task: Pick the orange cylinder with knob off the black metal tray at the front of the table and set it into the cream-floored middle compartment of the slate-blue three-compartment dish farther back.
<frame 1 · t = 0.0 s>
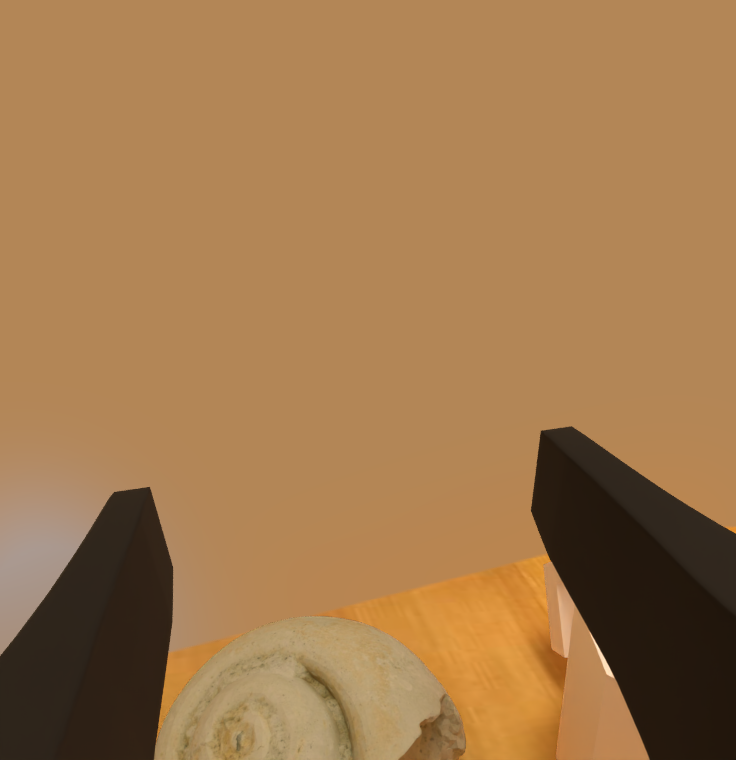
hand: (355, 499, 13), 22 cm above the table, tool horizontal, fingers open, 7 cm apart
mug: (626, 753, 30), on the table
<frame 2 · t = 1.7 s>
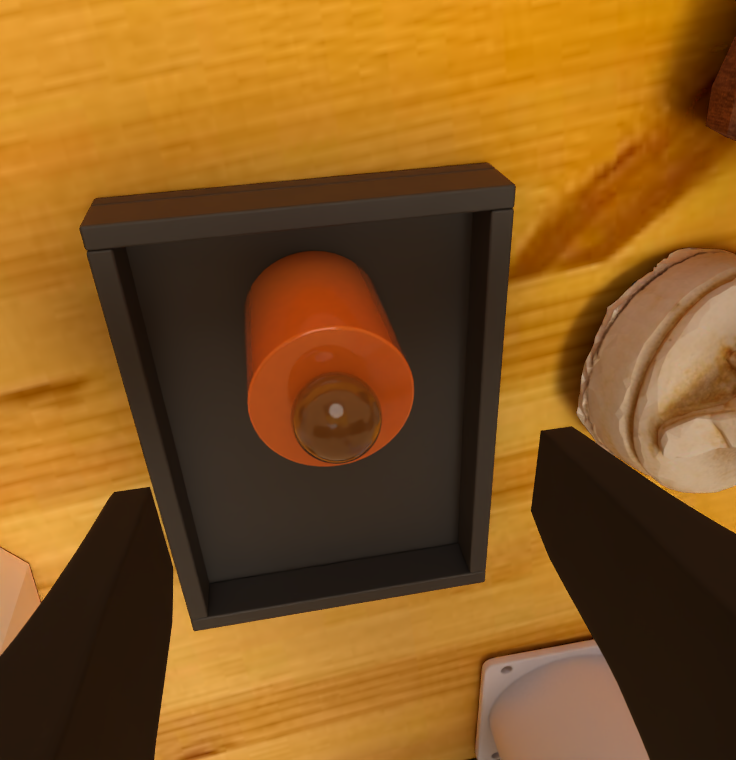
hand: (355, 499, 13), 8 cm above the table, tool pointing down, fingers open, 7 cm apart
orange cylinder with knob: (312, 314, 19), point 1 cm above the table, touching tray
figurine 2: (674, 342, 23), on the table
tray: (320, 404, 21), on the table
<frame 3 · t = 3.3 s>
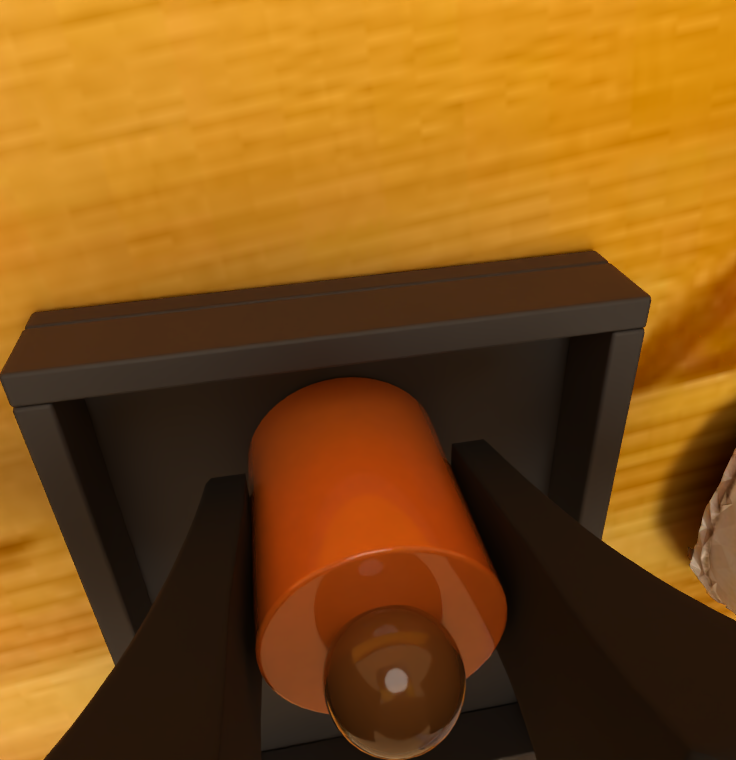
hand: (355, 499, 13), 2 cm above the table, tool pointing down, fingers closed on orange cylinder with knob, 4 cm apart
orange cylinder with knob: (343, 455, 14), point 1 cm above the table, touching gripper, tray
tray: (349, 554, 16), on the table
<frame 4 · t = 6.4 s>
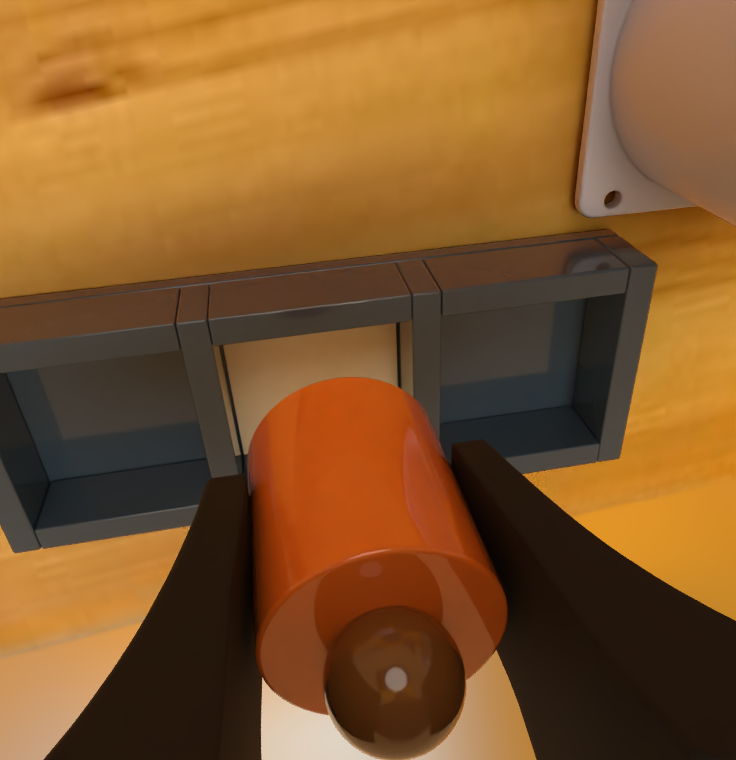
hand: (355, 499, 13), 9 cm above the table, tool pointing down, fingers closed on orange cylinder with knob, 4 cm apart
orange cylinder with knob: (343, 455, 14), point 8 cm above the table, touching gripper
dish: (312, 364, 21), on the table
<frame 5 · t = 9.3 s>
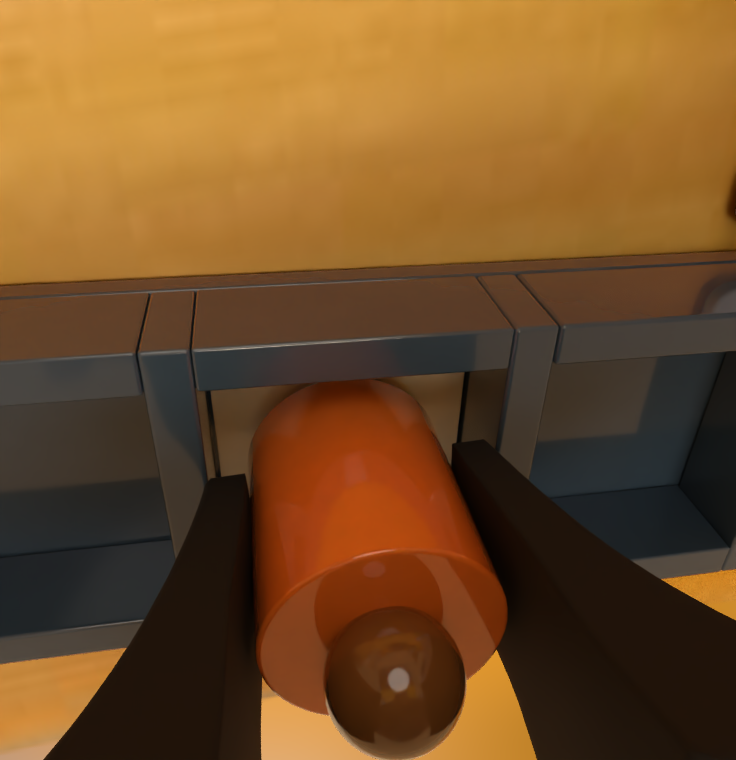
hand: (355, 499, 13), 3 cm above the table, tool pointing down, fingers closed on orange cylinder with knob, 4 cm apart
orange cylinder with knob: (343, 456, 14), point 1 cm above the table, touching gripper
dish: (336, 413, 15), on the table
when the fingers open (4 cm above the table, at t = 15.1 s): orange cylinder with knob drops 2 cm, resting on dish.
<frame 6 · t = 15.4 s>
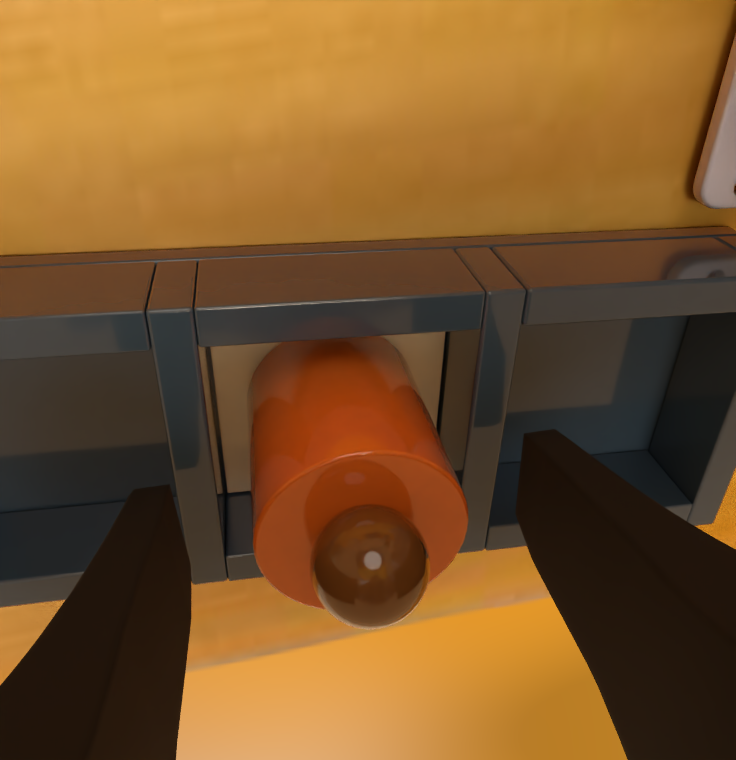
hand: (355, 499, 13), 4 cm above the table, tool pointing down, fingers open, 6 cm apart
orange cylinder with knob: (331, 398, 15), point 1 cm above the table, touching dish
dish: (327, 378, 16), on the table
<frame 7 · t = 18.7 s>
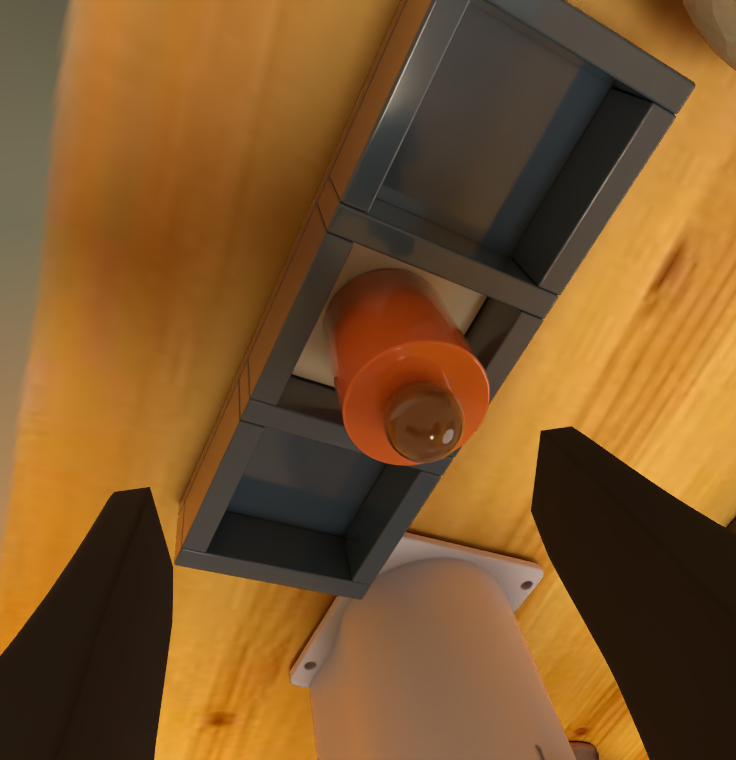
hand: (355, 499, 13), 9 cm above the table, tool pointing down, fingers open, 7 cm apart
orange cylinder with knob: (384, 325, 21), point 1 cm above the table, touching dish
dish: (379, 314, 21), on the table
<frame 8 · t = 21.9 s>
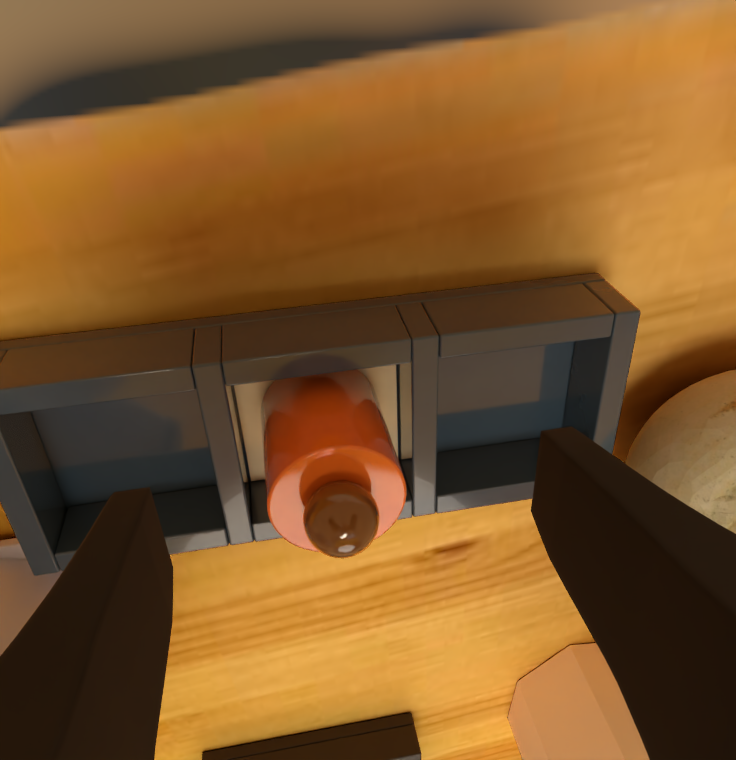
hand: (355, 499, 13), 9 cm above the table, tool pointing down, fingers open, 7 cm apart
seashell: (700, 467, 28), on the table
orange cylinder with knob: (319, 409, 22), point 1 cm above the table, touching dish
mug: (614, 675, 35), on the table
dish: (317, 396, 22), on the table
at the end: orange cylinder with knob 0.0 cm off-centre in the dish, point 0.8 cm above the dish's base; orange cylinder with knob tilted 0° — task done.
